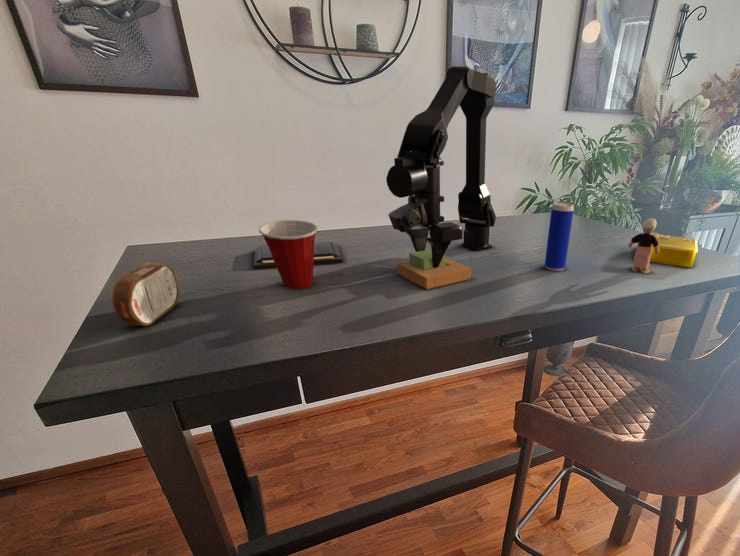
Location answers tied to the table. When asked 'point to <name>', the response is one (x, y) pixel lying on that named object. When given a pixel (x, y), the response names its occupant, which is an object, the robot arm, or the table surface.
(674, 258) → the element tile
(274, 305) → the table surface
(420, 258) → the green pad
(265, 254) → the wallet
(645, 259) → the grandmother figurine
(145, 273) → the tin
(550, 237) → the beverage can
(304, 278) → the plastic cup
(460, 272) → the wooden block
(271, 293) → the table surface
